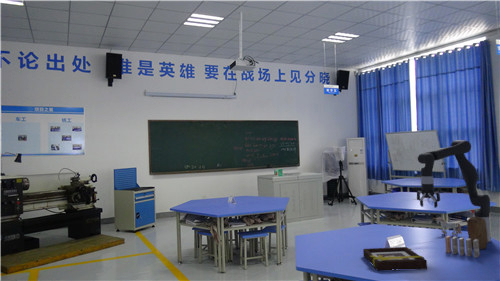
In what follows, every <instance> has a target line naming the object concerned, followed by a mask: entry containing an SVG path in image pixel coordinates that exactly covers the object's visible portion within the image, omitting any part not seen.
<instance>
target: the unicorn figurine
mask: <svg viewBox="0 0 500 281" xmlns="http://www.w3.org/2000/svg"><path fill="white" fill-rule="evenodd" d="M432 219H433V220H435V221H436V224H437V225H439V224H440V226H441V228H440V231H441V233H442V234H443V235H444V236H445V235H446V236H448V235H447V234H448V232H447V231H446V229H453V231H452V233H451V235H452V236H453V237H454V236H457V235H461V234H463V232H462V226H461V224H460V223H459V222H452V221H451V222H450V221H449V222H448V221H447V220H445V219H444V218H443V217H440V216H439V217H435V218H434V217H432Z"/></svg>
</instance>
